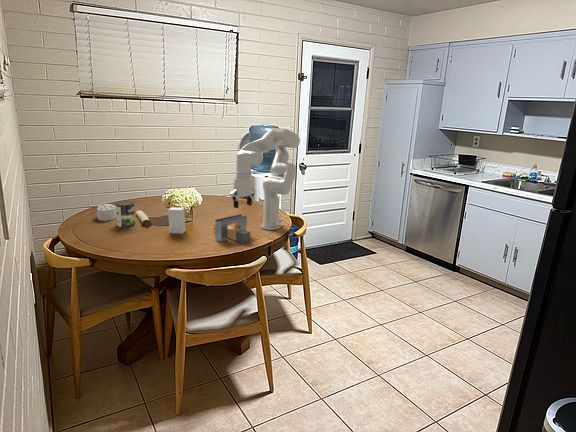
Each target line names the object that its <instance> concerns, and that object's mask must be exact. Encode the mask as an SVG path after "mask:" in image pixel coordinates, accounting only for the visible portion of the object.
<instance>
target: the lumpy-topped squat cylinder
mask: <svg viewBox="0 0 576 432" xmlns="http://www.w3.org/2000/svg"><path fill="white" fill-rule="evenodd" d="M96 215H97V216H96V217H97V220H99V221H100V222H109V221H111V220H115V218H117V213H116V205H113V204H111V203H107V204H106V203H104V204H102V205H97V208H96Z"/></svg>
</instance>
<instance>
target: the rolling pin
mask: <svg viewBox="0 0 576 432" xmlns="http://www.w3.org/2000/svg"><path fill="white" fill-rule="evenodd" d="M135 216H137V217H138V218H139V220H140V221H141V223H142V226H143V227H145V226H146V227H148V226H151V225H152V222H151V220H150V218H149V217H148V215H147V214H146V213H144V211H143V210H142V209H138V210H136V211H135Z"/></svg>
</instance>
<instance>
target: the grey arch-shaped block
mask: <svg viewBox="0 0 576 432" xmlns="http://www.w3.org/2000/svg"><path fill="white" fill-rule="evenodd" d="M214 221H215V223H214V224H215V232H214V233H215V234H214V237H215V239H214V240H215V241H217V242H219V241H220V242H219V243H223V242H227V241H228V238H227V235H228V226H230V225H234V228H236V229H239V230H246V231H247V227H248V226H247V223H248V221H247V214H246V215H243V214H242V213H239V214H235V215H231V216H225V217H221V218H216V219H215V220H214ZM226 240H227V241H226Z"/></svg>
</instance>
